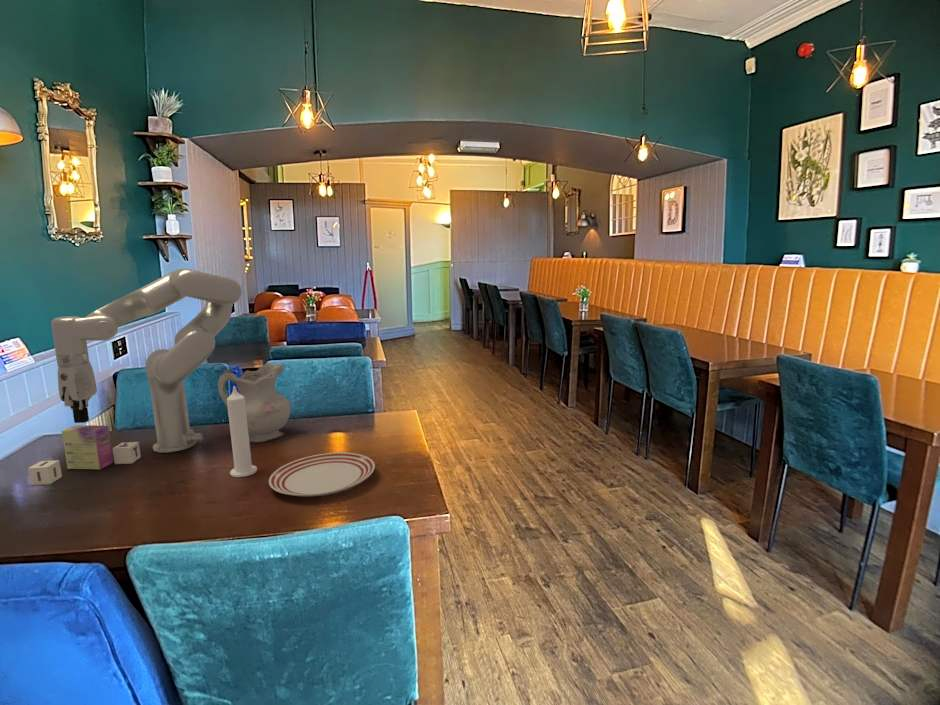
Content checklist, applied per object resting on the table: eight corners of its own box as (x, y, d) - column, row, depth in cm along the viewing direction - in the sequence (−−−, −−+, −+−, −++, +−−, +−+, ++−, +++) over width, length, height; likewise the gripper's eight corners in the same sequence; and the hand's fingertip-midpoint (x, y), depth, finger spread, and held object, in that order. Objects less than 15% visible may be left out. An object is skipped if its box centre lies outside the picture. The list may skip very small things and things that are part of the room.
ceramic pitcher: (248, 455, 172) (244, 378, 166) (210, 441, 182) (205, 367, 176) (303, 435, 190) (301, 364, 184) (265, 423, 200) (262, 355, 194)
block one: (62, 477, 157) (59, 459, 156) (50, 484, 152) (47, 466, 151) (43, 477, 156) (40, 460, 156) (30, 485, 151) (27, 467, 150)
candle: (262, 468, 158) (253, 383, 154) (245, 478, 152) (235, 390, 147) (242, 466, 161) (233, 382, 156) (224, 475, 154) (214, 388, 149)
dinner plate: (278, 515, 130) (277, 502, 130) (262, 475, 154) (261, 463, 154) (389, 489, 143) (389, 477, 142) (359, 455, 167) (358, 445, 166)
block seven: (141, 457, 170) (139, 441, 169) (132, 463, 165) (130, 447, 164) (124, 458, 170) (121, 442, 169) (114, 464, 165) (112, 447, 164)
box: (114, 462, 167) (108, 424, 164) (100, 470, 161) (93, 431, 159) (82, 462, 168) (76, 424, 165) (67, 469, 162) (60, 430, 160)
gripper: (69, 364, 151) (78, 429, 154) (102, 355, 166) (110, 414, 169) (40, 365, 151) (50, 430, 154) (76, 355, 165) (84, 415, 169)
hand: (81, 421), depth 161 cm, fingers closed
